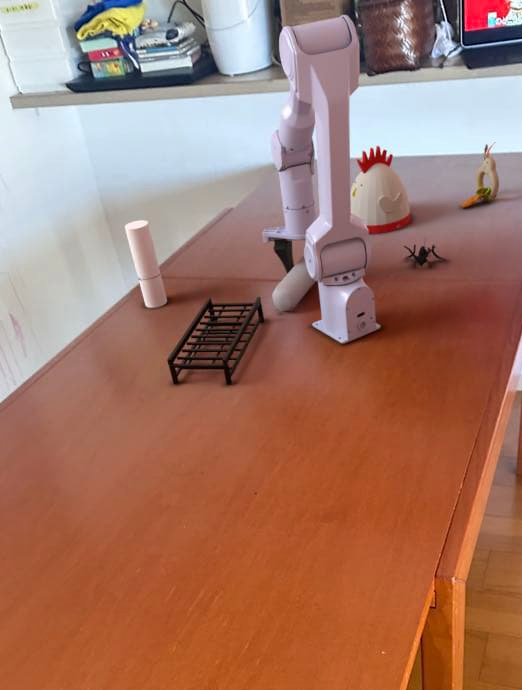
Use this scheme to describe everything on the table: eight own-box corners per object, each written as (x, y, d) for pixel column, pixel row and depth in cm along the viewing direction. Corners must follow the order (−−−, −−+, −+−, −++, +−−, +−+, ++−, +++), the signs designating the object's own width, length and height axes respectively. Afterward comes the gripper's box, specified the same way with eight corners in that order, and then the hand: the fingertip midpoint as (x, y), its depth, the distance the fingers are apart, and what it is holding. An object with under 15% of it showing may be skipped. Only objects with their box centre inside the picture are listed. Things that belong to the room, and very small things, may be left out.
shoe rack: (264, 320, 136) (261, 296, 133) (231, 385, 121) (226, 359, 118) (212, 321, 139) (207, 297, 136) (172, 384, 123) (166, 359, 120)
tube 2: (297, 295, 133) (343, 238, 150) (269, 284, 134) (319, 229, 150) (291, 321, 137) (337, 263, 154) (264, 310, 138) (313, 253, 154)
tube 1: (171, 298, 148) (152, 220, 138) (159, 308, 146) (139, 229, 136) (152, 297, 150) (133, 219, 140) (141, 306, 147) (120, 228, 137)
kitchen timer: (335, 221, 169) (329, 148, 159) (388, 205, 172) (386, 132, 162) (366, 238, 159) (362, 162, 149) (422, 221, 162) (422, 145, 153)
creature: (408, 261, 150) (398, 269, 144) (409, 232, 148) (399, 239, 141) (448, 262, 148) (439, 270, 141) (449, 233, 145) (440, 240, 139)
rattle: (453, 199, 170) (454, 144, 162) (489, 193, 170) (492, 137, 163) (463, 210, 164) (464, 153, 157) (500, 204, 165) (503, 146, 157)
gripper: (342, 194, 136) (348, 268, 145) (265, 198, 140) (275, 270, 149) (335, 208, 131) (341, 284, 140) (255, 212, 135) (266, 285, 144)
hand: (307, 278), depth 144 cm, fingers closed on tube 2, 5 cm apart
